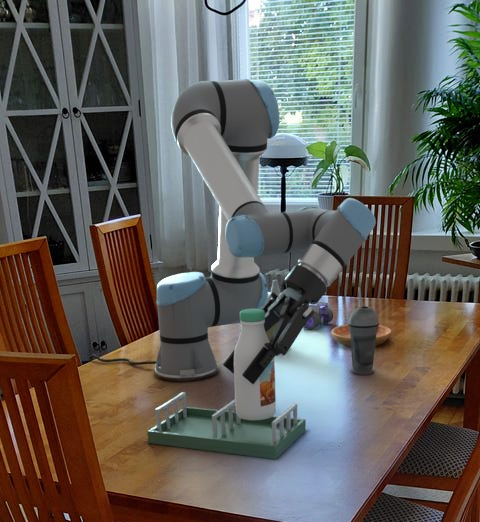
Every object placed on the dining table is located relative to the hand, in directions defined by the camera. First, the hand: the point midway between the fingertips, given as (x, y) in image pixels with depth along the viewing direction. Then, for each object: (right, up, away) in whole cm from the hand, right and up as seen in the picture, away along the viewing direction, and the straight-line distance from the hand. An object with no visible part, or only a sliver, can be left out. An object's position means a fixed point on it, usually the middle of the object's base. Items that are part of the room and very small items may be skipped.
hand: (237, 374), depth 162 cm
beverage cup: (+30, +8, +47) cm, 56 cm away
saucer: (+33, +21, +73) cm, 83 cm away
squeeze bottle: (+10, +18, +69) cm, 72 cm away
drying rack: (-2, -11, +10) cm, 15 cm away
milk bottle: (+3, -7, +5) cm, 9 cm away
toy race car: (+19, +30, +93) cm, 99 cm away
